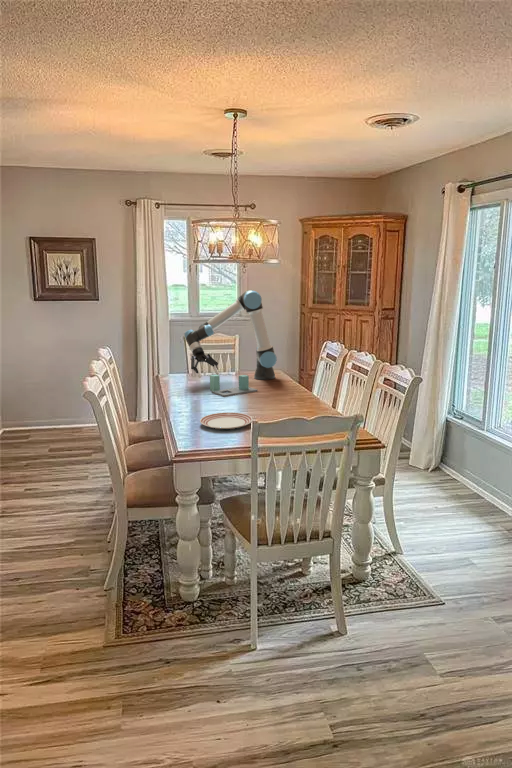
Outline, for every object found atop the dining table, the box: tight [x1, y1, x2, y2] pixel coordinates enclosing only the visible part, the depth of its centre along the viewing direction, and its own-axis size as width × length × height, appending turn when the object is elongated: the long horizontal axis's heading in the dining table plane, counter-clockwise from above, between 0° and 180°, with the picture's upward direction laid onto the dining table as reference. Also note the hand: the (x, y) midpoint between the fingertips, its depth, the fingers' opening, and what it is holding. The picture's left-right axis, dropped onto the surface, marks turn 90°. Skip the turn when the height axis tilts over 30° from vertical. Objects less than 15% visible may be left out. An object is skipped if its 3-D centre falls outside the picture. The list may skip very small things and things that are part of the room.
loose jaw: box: [209, 374, 221, 391], centre depth 389 cm, size 5×5×10 cm
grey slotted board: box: [211, 386, 258, 398], centre depth 384 cm, size 26×14×1 cm, turn 127°
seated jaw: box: [238, 374, 250, 390], centre depth 387 cm, size 5×5×10 cm
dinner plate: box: [199, 412, 254, 430], centre depth 309 cm, size 28×27×3 cm
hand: (209, 375), depth 391 cm, fingers open, 13 cm apart
